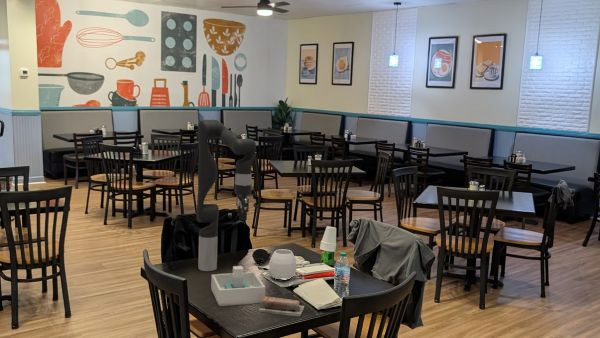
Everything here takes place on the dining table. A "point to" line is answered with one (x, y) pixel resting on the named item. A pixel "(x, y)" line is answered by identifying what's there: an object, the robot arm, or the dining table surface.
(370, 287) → the dining table surface
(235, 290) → the walled box
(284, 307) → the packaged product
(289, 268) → the white round vase
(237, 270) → the grey upright block
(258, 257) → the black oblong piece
